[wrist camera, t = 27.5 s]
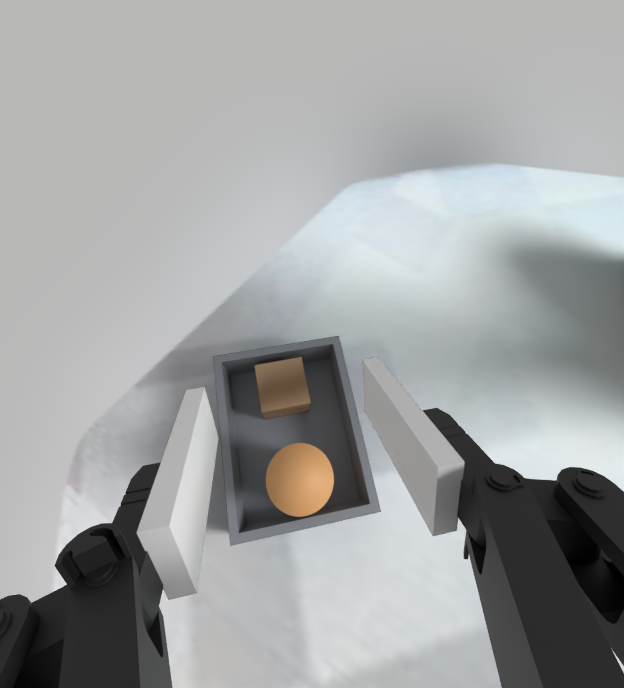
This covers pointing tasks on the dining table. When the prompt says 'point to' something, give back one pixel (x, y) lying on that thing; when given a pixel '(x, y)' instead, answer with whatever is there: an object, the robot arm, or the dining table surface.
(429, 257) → the dining table surface
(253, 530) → the tote
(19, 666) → the robot arm
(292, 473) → the tan dome-topped cylinder
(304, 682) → the dining table surface
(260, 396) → the walnut cube
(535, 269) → the dining table surface
